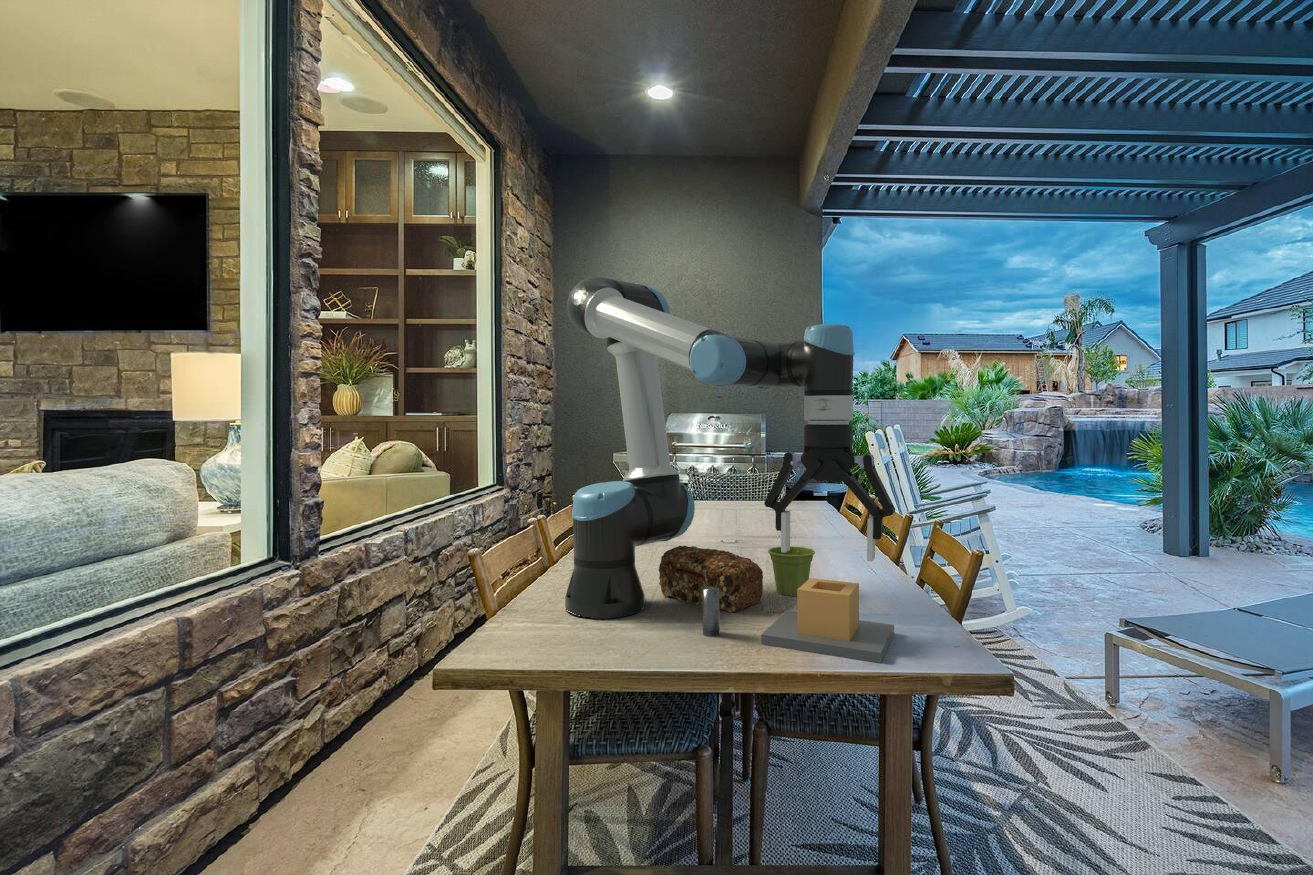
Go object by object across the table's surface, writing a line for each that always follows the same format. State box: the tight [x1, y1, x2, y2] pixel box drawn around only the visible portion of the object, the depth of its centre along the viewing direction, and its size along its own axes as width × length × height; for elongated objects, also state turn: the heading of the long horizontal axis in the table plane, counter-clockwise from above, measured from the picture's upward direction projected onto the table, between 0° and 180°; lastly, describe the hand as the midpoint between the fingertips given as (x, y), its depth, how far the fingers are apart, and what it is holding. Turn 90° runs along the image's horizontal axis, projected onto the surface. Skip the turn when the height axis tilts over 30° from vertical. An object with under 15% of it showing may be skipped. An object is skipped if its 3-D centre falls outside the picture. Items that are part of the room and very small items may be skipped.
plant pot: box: [767, 545, 816, 597], centre depth 130 cm, size 9×9×9 cm
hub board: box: [760, 610, 895, 664], centre depth 102 cm, size 18×14×8 cm
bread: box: [658, 545, 764, 613], centre depth 126 cm, size 19×11×10 cm, turn 48°
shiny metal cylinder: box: [701, 587, 721, 637], centre depth 106 cm, size 3×3×8 cm
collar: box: [796, 577, 860, 641], centre depth 102 cm, size 8×8×7 cm
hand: (827, 555), depth 102 cm, fingers open, 13 cm apart
